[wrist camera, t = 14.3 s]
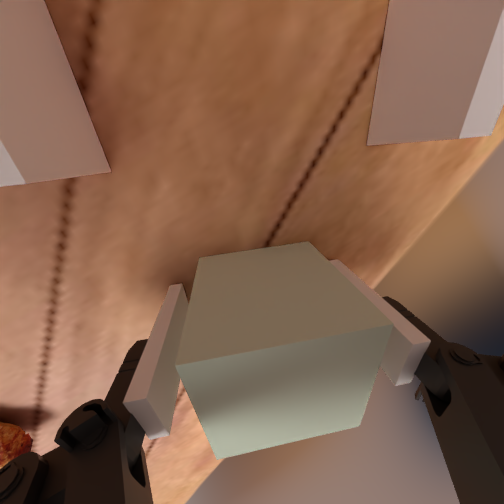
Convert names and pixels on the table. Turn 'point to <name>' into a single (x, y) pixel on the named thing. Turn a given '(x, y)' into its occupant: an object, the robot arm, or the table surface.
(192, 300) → the block
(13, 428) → the croissant
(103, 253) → the table surface
